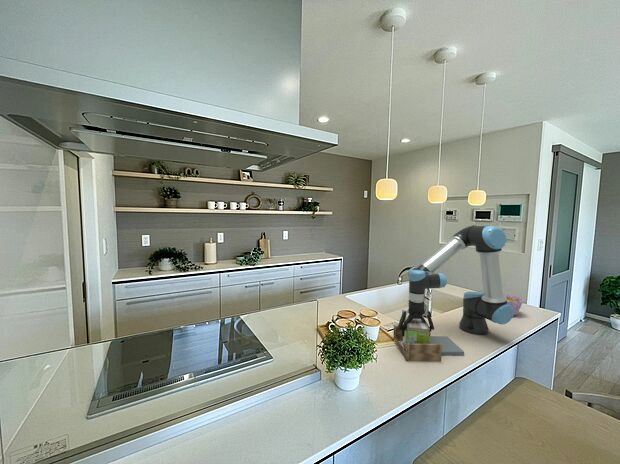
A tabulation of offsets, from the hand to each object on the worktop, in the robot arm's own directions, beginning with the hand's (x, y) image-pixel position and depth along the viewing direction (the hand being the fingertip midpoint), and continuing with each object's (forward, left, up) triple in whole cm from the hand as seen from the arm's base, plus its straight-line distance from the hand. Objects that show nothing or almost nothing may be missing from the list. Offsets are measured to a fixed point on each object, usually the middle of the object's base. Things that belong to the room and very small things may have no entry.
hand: (415, 342), depth 134 cm
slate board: (-16, -3, -4) cm, 16 cm away
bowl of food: (-83, -52, -4) cm, 98 cm away
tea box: (0, 0, -4) cm, 4 cm away
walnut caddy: (0, 0, -4) cm, 4 cm away
